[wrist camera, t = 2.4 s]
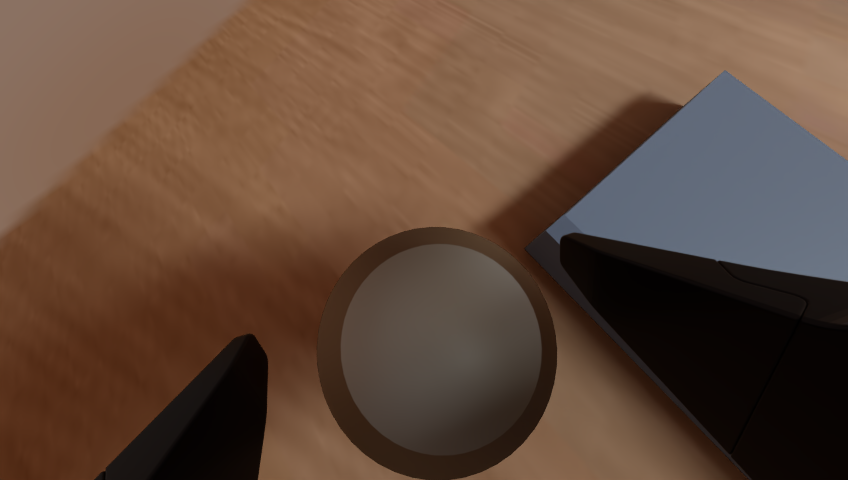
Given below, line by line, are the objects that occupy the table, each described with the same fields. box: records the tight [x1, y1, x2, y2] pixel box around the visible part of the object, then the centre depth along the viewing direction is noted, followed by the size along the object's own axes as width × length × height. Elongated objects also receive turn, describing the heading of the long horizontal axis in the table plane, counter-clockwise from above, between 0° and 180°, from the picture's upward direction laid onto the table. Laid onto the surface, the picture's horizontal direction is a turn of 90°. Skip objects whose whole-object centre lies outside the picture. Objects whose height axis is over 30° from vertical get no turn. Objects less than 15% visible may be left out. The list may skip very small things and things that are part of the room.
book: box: [524, 71, 848, 480], centre depth 15 cm, size 14×22×3 cm, turn 41°
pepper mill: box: [317, 227, 557, 480], centre depth 11 cm, size 5×5×10 cm
